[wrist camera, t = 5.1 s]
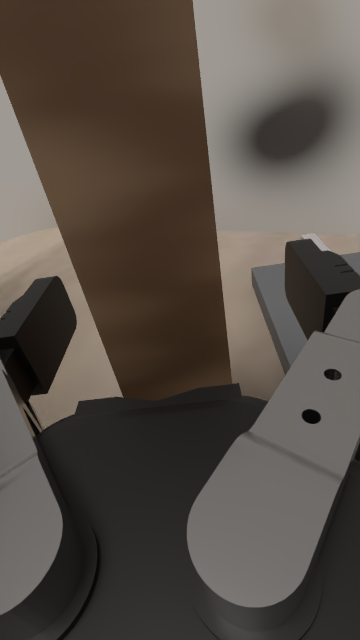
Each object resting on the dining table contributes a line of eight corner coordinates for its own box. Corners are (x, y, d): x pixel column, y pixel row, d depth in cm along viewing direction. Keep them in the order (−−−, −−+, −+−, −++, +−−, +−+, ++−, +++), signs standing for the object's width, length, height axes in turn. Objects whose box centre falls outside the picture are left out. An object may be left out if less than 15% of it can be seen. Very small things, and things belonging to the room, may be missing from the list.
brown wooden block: (172, 525, 14) (-34, -14, 4) (174, 424, 18) (68, 34, 9) (246, 520, 13) (185, -68, 4) (230, 418, 17) (182, 10, 8)
